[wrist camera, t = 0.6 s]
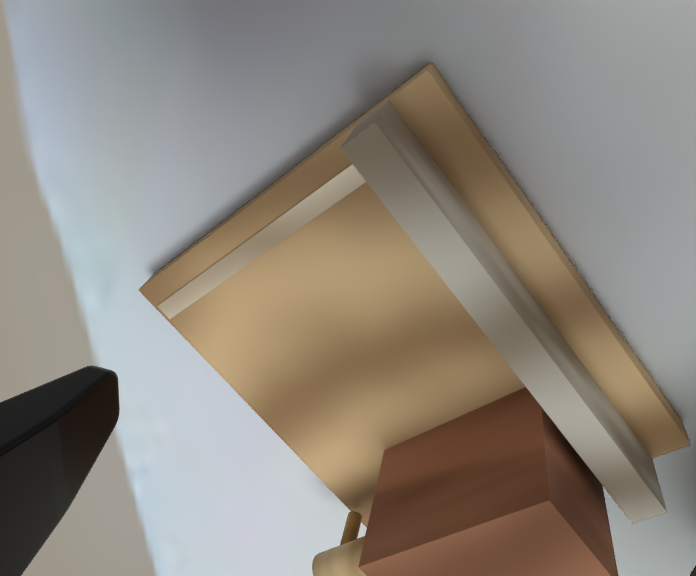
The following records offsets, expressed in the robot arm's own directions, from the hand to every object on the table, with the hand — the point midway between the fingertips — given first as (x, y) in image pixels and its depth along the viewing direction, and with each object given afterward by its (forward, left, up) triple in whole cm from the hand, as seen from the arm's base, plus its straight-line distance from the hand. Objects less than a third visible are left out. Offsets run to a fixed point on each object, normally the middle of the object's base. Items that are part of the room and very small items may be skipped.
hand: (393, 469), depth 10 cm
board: (-5, +5, -13) cm, 15 cm away
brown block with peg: (-10, +7, -12) cm, 17 cm away
